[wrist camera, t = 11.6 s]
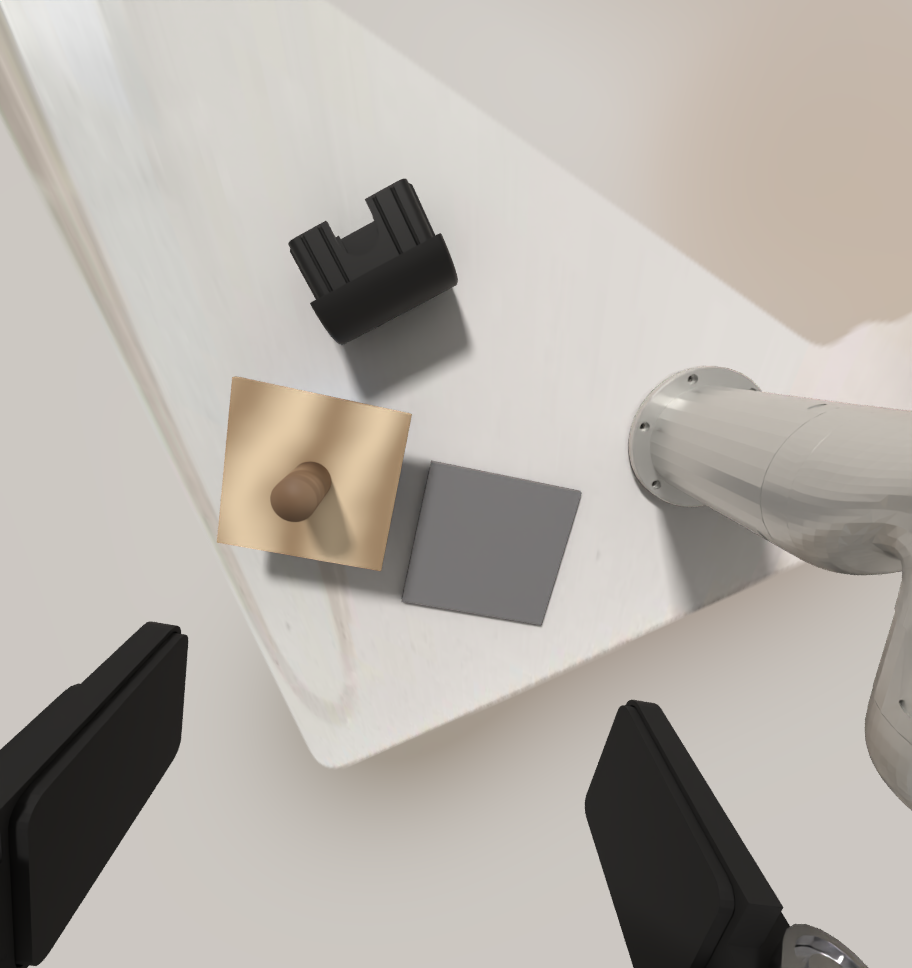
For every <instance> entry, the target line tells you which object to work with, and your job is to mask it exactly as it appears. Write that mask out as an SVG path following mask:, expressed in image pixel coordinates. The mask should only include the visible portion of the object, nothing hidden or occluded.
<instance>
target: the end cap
mask: <svg viewBox="0 0 912 968" xmlns="http://www.w3.org/2000/svg"><path fill="white" fill-rule="evenodd" d="M365 201H366V203H367V205H368V207H369V209H370V211H371V213H372V215H373V219H374V221H373V222H372V223H370V224H368V225H366V226H364V227H362V228H361V229H359V230H357V231H355V232H353V233H351V234H350V235H348V236H346V237H344V238H342V239H340V237H339V236H337V237H336V238H335V236H334V234H333V232H332V230H331V228H330V226H329V224H328V222H327V221H325V222H323V223H321V224H319V225H317V226H315V227H314V228H312V229H310V230H308V231H306V232H305V233H303V234H301V235H299V236H297V237H296V238H294V239H292V240H291V241H290V242H289V243H288V245H289V246H290V253H291V254H292V256H293V258H294V260H295V262H296V264H297V265H298V267H299V269H300V271H301V273H302V275H303V276H304V278H305V280H306V282H307V284H308V286H309V287H310V289H311V291H312V293H313V295H314V297H315V299H316V300H315V301H313V302H311V303H310V304H311V306H312V308H313V310H314V311H315V313H316V315H317V316H318V318H319V320H320V321H321V323H322V324H323V326H324V327H325V329H326V330H327V331H328V333H329V334H330V335H331V337H332V338H333V339H334V340H335V341H336V342H337V343H339V344H341V345H343V344H345V343H347V342H349V341H351V340H353V339H355V338H357V337H359V336H361V335H363V334H364V333H366V332H368V331H370V330H372V329H374V328H376V327H378V326H380V325H382V324H383V323H385V322H387V321H389V320H391V319H393V318H395V317H397V316H399V315H401V314H402V313H404V312H406V311H408V310H410V309H412V308H414V307H416V306H418V305H420V304H421V303H423V302H425V301H427V300H429V299H431V298H433V297H435V296H437V295H438V294H440V293H442V292H444V291H446V290H448V289H450V288H452V287H454V286H456V285H457V283H458V278H457V274H456V270H455V267H454V264H453V261H452V258H451V256H450V253H449V251H448V248H447V246H446V243H445V241H444V239H443V237H442V234H441V233H440V234H437V235H436V236H435V234H434V232H433V229H432V227H431V225H430V223H429V221H428V218H427V216H426V214H425V212H424V210H423V207H422V205H421V203H420V201H419V199H418V196H417V194H416V192H415V190H414V188H413V185H412V184H410V183H408V181H407V179H401V180H399V181H397V182H395V183H393V184H392V185H390V186H388V187H386V188H384V189H383V190H381V191H379V192H377V193H375V194H373V195H372V196H370V197H368V198H366V199H365Z"/></svg>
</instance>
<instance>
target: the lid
mask: <svg viewBox="0 0 912 968" xmlns="http://www.w3.org/2000/svg"><path fill="white" fill-rule="evenodd" d="M411 416H412V414H410V413H405V412H401V411H396V410H391V409H387V408H382V407H377V406H373V405H368V404H363V403H359V402H354V401H349V400H345V399H340V398H335V397H331V396H326V395H321V394H316V393H312V392H307V391H302V390H298V389H293V388H288V387H284V386H279V385H274V384H270V383H265V382H260V381H256V380H251V379H246V378H242V377H232V386H231V397H230V408H229V418H228V429H227V440H226V451H225V461H224V472H223V483H222V494H221V504H220V515H219V526H218V537H217V543H223V544H229V545H235V546H240V547H246V548H252V549H257V550H263V551H269V552H274V553H280V554H286V555H292V556H297V557H303V558H309V559H314V560H320V561H326V562H331V563H337V564H343V565H349V566H354V567H360V568H366V569H371V570H377V571H381V569H382V564H383V559H384V554H385V549H386V544H387V538H388V533H389V528H390V523H391V518H392V513H393V508H394V503H395V498H396V493H397V487H398V482H399V477H400V472H401V467H402V462H403V457H404V452H405V447H406V442H407V436H408V431H409V426H410V421H411Z"/></svg>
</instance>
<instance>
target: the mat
mask: <svg viewBox="0 0 912 968" xmlns="http://www.w3.org/2000/svg"><path fill="white" fill-rule="evenodd" d="M580 497H581V492H580V491H578V490H573V489H568V488H564V487H559V486H554V485H549V484H544V483H539V482H534V481H529V480H524V479H519V478H514V477H509V476H505V475H500V474H495V473H490V472H485V471H480V470H475V469H470V468H465V467H460V466H455V465H451V464H446V463H441V462H436V461H431V464H430V469H429V474H428V478H427V483H426V488H425V492H424V497H423V502H422V506H421V511H420V516H419V521H418V525H417V530H416V535H415V539H414V544H413V549H412V553H411V558H410V563H409V568H408V572H407V577H406V582H405V586H404V591H403V596H402V602H408V603H414V604H419V605H425V606H431V607H437V608H443V609H449V610H455V611H461V612H467V613H473V614H478V615H484V616H490V617H496V618H502V619H508V620H514V621H520V622H526V623H532V624H538V625H541V624H542V621H543V618H544V615H545V611H546V608H547V605H548V602H549V598H550V595H551V592H552V588H553V585H554V582H555V579H556V575H557V572H558V569H559V565H560V562H561V559H562V556H563V552H564V549H565V546H566V543H567V539H568V536H569V533H570V529H571V526H572V523H573V520H574V516H575V513H576V510H577V507H578V503H579V500H580Z"/></svg>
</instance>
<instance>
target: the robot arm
mask: <svg viewBox="0 0 912 968" xmlns="http://www.w3.org/2000/svg"><path fill="white" fill-rule="evenodd" d="M689 377H690V380H689V381H688V378H689ZM642 423H643V427H642V428H640V425H641V424H642ZM629 456H630V461H631V466H632V468H633V470H634V472H635V475H636V477H637V478H638V479H639V481H640V482H641V484H642V485H643V486H644V487H645V488H646V489H647V490H648V491H649V492H651V493H652V494H653V495H655V496H656V497H658V498H659V499H661V500H663V501H665V502H668V503H670V504H672V505H677V506H682V507H700V506H708V507H710V508H712V509H713V510H715V511H717V512H719V513H720V514H722V515H724V516H726V517H727V518H729V519H731V520H733V521H734V522H736V523H738V524H740V525H741V526H743V527H745V528H747V529H748V530H750V531H752V532H754V533H755V534H757V535H759V536H761V537H762V538H764V539H766V540H768V541H769V542H771V543H773V544H775V545H776V546H778V547H780V548H782V549H783V550H785V551H787V552H789V553H790V554H792V555H794V556H796V557H798V558H799V559H801V560H803V561H805V562H807V563H809V564H811V565H814V566H816V567H819V568H822V569H825V570H828V571H832V572H836V573H843V574H850V575H877V574H888V573H894V572H901V571H902V582H901V585H900V590H899V593H898V598H897V601H896V605H895V614H894V617H893V620H892V624H891V627H890V630H889V634H888V637H887V640H886V644H885V647H884V650H883V654H882V657H881V660H880V664H879V667H878V670H877V673H876V677H875V680H874V683H873V689H872V693H871V696H870V700H869V704H868V709H867V713H866V718H865V739H866V745H867V748H868V752H869V755H870V758H871V760H872V762H873V764H874V766H875V768H876V769H877V771H878V773H879V775H880V776H881V778H882V779H883V780H884V782H885V783H886V784H887V785H888V787H889V788H890V789H891V790H892V791H893V792H894V793H895V795H896V796H897V797H898V798H899V799H900V800H901V801H902V802H903V803H904V804H905V805H906V806H907V807H909V808H910V809H911V810H912V411H907V410H899V409H891V408H883V407H875V406H868V405H857V404H850V403H842V402H835V401H827V400H820V399H812V398H805V397H797V396H790V395H782V394H775V393H767V392H762V391H761V389H760V388H759V387H758V386H757V385H756V384H755V383H754V382H753V381H752V380H751V379H750V378H748V377H747V376H745V375H744V374H742V373H740V372H737V371H735V370H732V369H729V368H723V367H714V366H702V367H696V368H690V369H687V370H684V371H682V372H679V373H676V374H675V375H673V376H671V377H669V378H668V379H666V380H664V381H663V382H662V383H661V384H659V385H658V386H657V387H656V388H655V389H654V390H652V392H651V393H650V394H649V395H648V396H647V398H646V399H645V400H644V401H643V403H642V404H641V406H640V408H639V410H638V411H637V413H636V415H635V418H634V420H633V423H632V426H631V430H630V436H629ZM653 481H654V483H653ZM652 483H653V484H652ZM187 650H188V637H187V635H184V634H181V629H180V627H179V626H175V625H169V624H163V623H157V622H147V623H146V624H144V625H143V626H142V627H141V628H140V629H139V630H138V631H137V632H136V633H135V634H133V635H132V636H131V637H130V638H129V639H128V640H127V641H126V642H125V643H124V644H123V645H122V646H121V647H119V648H118V650H116V651H115V652H114V653H113V654H112V655H111V656H110V657H109V658H108V659H107V660H106V661H105V662H104V663H102V664H101V665H100V666H99V667H98V668H97V669H96V670H95V671H94V672H93V673H92V674H91V675H90V676H89V677H88V678H86V679H85V680H84V681H83V682H82V683H81V684H76V685H73V686H71V687H69V688H68V689H67V690H65V691H64V692H63V693H62V694H61V695H60V696H59V697H57V698H56V699H55V700H54V701H53V702H52V703H51V704H50V705H49V706H48V707H46V708H45V709H44V710H43V711H42V712H41V713H40V714H39V715H38V716H37V717H36V718H35V719H33V720H32V721H31V722H30V723H29V724H28V725H27V726H26V727H25V728H24V729H23V730H22V731H20V732H19V733H18V734H17V735H16V736H15V737H14V738H13V739H12V740H11V741H10V742H8V743H7V744H6V745H5V746H4V747H3V748H2V749H1V750H0V968H27V967H28V966H29V965H31V966H37V965H39V964H40V963H41V962H42V961H43V960H44V959H45V958H46V956H47V955H48V953H49V952H50V951H51V949H52V948H53V946H54V944H55V943H56V941H57V940H58V938H59V937H60V935H61V934H62V932H63V930H64V929H65V927H66V926H67V924H68V923H69V921H70V919H71V918H72V916H73V915H74V913H75V912H76V910H77V909H78V907H79V906H80V904H81V903H82V901H83V899H84V898H85V896H86V895H87V893H88V892H89V890H90V888H91V887H92V885H93V884H94V882H95V881H96V879H97V878H98V876H99V874H100V873H101V871H102V870H103V868H104V867H105V865H106V864H107V862H108V861H109V859H110V857H111V856H112V854H113V853H114V851H115V850H116V848H117V847H118V845H119V844H120V842H121V840H122V839H123V837H124V836H125V834H126V832H127V831H128V830H129V828H130V826H131V825H132V823H133V822H134V820H135V819H136V817H137V816H138V814H139V812H140V811H141V809H142V808H143V806H144V805H145V803H146V802H147V800H148V798H149V797H150V795H151V794H152V792H153V791H154V789H155V787H156V786H157V784H158V783H159V781H160V780H161V778H162V777H163V775H164V774H165V772H166V770H167V769H168V767H169V766H170V764H171V762H172V761H173V759H174V758H175V756H176V754H177V751H178V748H179V745H180V742H181V732H182V719H183V706H184V692H185V677H186V665H187ZM585 813H586V818H587V821H588V824H589V827H590V830H591V834H592V836H593V840H594V843H595V846H596V849H597V853H598V856H599V859H600V862H601V865H602V869H603V872H604V875H605V878H606V881H607V885H608V888H609V890H610V894H611V897H612V900H613V904H614V907H615V910H616V913H617V916H618V919H619V923H620V926H621V929H622V932H623V935H624V939H625V942H626V945H627V948H628V951H629V955H630V958H631V961H632V964H633V967H634V968H868V967H867V966H866V965H865V964H864V963H863V962H862V961H861V960H860V959H859V957H857V956H856V955H855V953H853V952H852V951H851V950H850V949H849V948H847V947H846V946H845V945H844V944H842V943H841V942H840V941H839V940H837V939H836V938H834V937H832V936H831V935H829V934H828V933H826V932H824V931H822V930H821V929H818V928H815V927H812V926H810V925H807V924H794V925H792V926H791V927H790V926H789V924H788V922H787V921H786V919H785V917H784V916H783V914H782V912H781V911H782V909H783V906H782V904H781V903H780V901H779V900H778V898H777V896H776V895H775V893H774V891H773V890H772V888H771V887H770V885H769V883H768V882H767V880H766V879H765V877H764V875H763V874H762V872H761V870H760V869H759V867H758V865H757V864H756V862H755V861H754V859H753V857H752V856H751V854H750V852H749V851H748V849H747V848H746V846H745V844H744V843H743V841H742V840H741V838H740V836H739V835H738V833H737V831H736V830H735V828H734V826H733V825H732V823H731V822H730V820H729V819H728V817H727V815H726V813H725V812H724V810H723V809H722V807H721V805H720V804H719V802H718V801H717V799H716V797H715V796H714V794H713V792H712V791H711V789H710V787H709V786H708V784H707V783H706V781H705V779H704V778H703V776H702V774H701V773H700V771H699V770H698V768H697V766H696V765H695V763H694V761H693V760H692V758H691V757H690V755H689V753H688V752H687V750H686V748H685V747H684V745H683V744H682V742H681V740H680V739H679V737H678V736H677V734H676V732H675V731H674V729H673V727H672V726H671V724H670V722H669V721H668V719H667V718H666V716H665V714H664V713H663V711H662V709H661V708H660V707H659V706H658V705H657V704H655V703H649V702H643V701H637V700H629V701H628V702H627V704H626V705H625V706H620V708H619V709H618V712H617V714H616V717H615V720H614V722H613V725H612V728H611V730H610V733H609V736H608V738H607V741H606V744H605V746H604V749H603V752H602V754H601V757H600V760H599V762H598V765H597V768H596V770H595V773H594V776H593V779H592V781H591V784H590V787H589V790H588V792H587V795H586V799H585Z"/></svg>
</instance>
